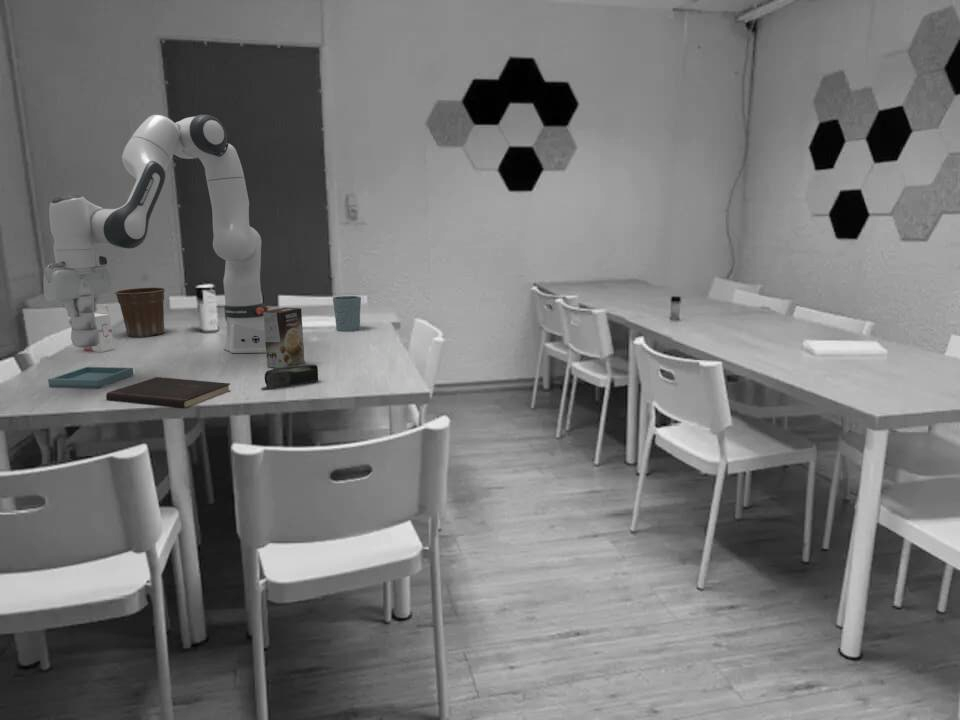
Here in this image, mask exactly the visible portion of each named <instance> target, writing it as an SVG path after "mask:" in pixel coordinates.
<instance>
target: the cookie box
mask: <svg viewBox="0 0 960 720" xmlns="http://www.w3.org/2000/svg"><path fill="white" fill-rule="evenodd" d="M302 313H303V312H302V308H298V307H281V308H274V309H268V311H263V315H264V329H265V343H266V352H265V354H266V357H265V358H266V367H269V368H273V369H274V368H279V367H292V366H298V365H302V364H303V363H305V362H306V361H305V348H304V332H303V330H304V329H303V317H302V316H303V314H302Z"/></svg>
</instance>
